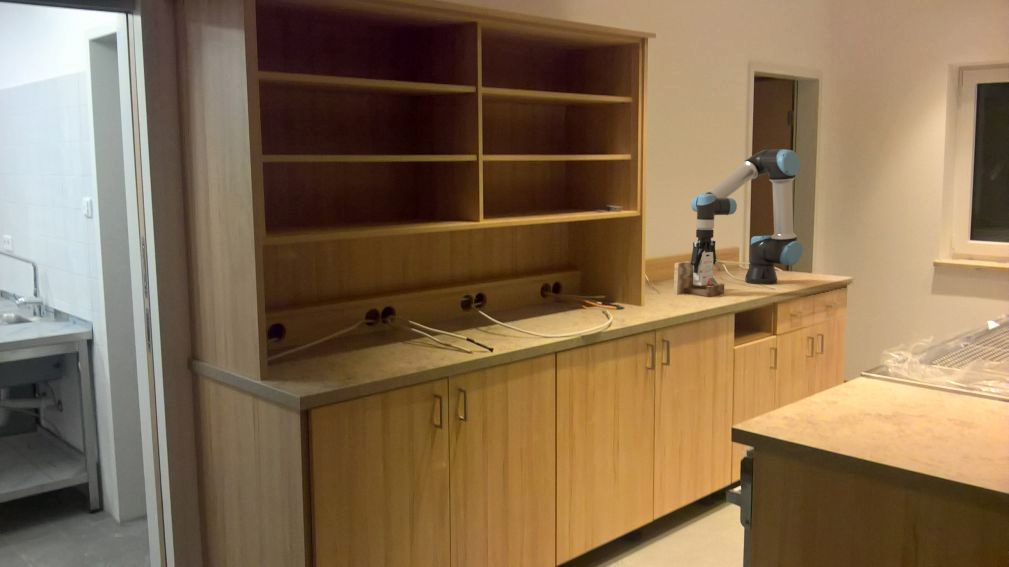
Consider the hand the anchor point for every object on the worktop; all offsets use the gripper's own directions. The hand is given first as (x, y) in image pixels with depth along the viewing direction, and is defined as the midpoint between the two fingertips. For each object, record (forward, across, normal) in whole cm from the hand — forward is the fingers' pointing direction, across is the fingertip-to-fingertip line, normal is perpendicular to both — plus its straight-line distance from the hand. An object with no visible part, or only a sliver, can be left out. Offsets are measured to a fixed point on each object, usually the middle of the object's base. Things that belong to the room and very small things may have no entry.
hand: (702, 279), depth 380 cm
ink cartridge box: (+3, 0, 0) cm, 3 cm away
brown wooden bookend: (+7, 0, 0) cm, 7 cm away
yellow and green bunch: (+7, -22, -17) cm, 29 cm away
